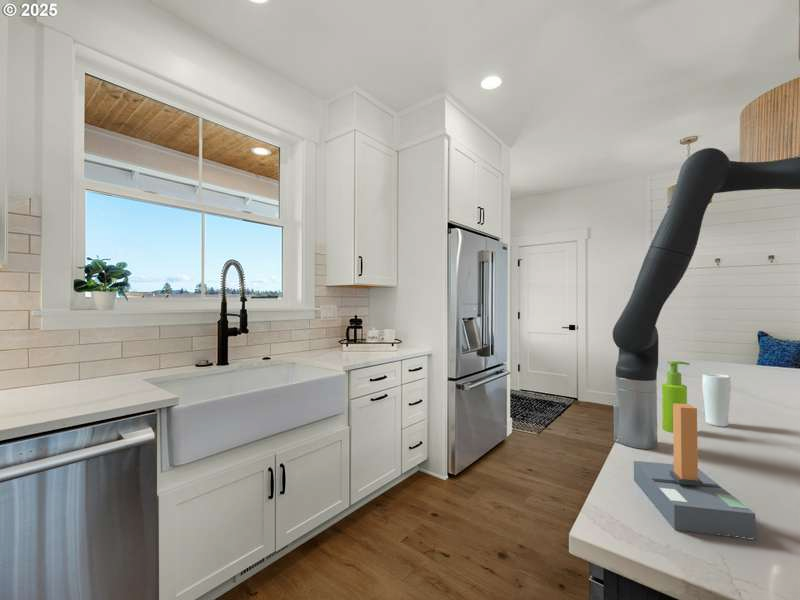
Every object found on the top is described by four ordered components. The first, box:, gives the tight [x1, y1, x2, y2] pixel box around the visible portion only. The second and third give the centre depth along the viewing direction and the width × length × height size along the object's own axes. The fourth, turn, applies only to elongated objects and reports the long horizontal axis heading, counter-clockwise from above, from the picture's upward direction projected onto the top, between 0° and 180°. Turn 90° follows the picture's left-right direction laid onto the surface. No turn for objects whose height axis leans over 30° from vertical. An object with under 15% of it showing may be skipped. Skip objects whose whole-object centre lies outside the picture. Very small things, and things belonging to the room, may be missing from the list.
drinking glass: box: [701, 373, 732, 428], centre depth 116 cm, size 7×7×15 cm
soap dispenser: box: [661, 360, 690, 433], centre depth 110 cm, size 6×7×20 cm
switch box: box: [633, 460, 757, 540], centre depth 69 cm, size 11×18×4 cm, turn 166°
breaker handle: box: [670, 403, 702, 486], centre depth 69 cm, size 4×4×14 cm
